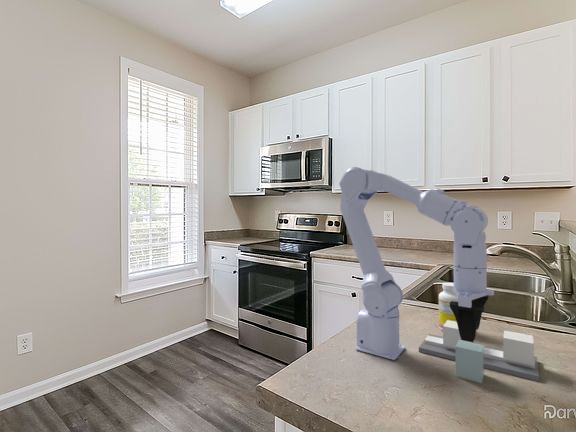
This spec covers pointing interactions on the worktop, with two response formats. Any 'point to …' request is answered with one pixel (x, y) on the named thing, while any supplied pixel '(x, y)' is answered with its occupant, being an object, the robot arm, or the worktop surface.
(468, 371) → the block
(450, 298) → the supplement bottle
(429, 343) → the board
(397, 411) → the worktop surface
